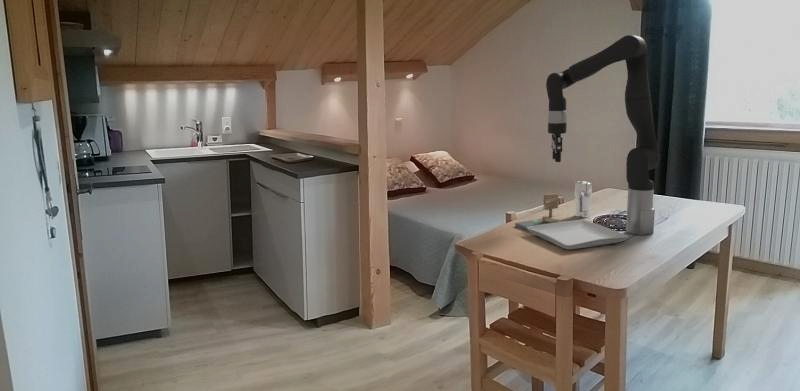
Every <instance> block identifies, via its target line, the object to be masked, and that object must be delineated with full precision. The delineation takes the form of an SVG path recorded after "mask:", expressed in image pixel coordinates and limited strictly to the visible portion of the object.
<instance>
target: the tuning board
mask: <svg viewBox="0 0 800 391" xmlns="http://www.w3.org/2000/svg"><path fill="white" fill-rule="evenodd" d="M540 221H542V218H538V219H537V218H536V219H532V220H531V219H530V220H526V221H525V220H524V221H518V222H515V223H514V224H515V225H514V227H516V228H518V229H521V230H524V231H527V232H530V231H529V230H528V229H527V228H526V227H530V226H536V225H542V224H549V223H544V222H543V223H537V224H535V223H534V222H540ZM558 222H564V220H560V219H558Z"/></svg>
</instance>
